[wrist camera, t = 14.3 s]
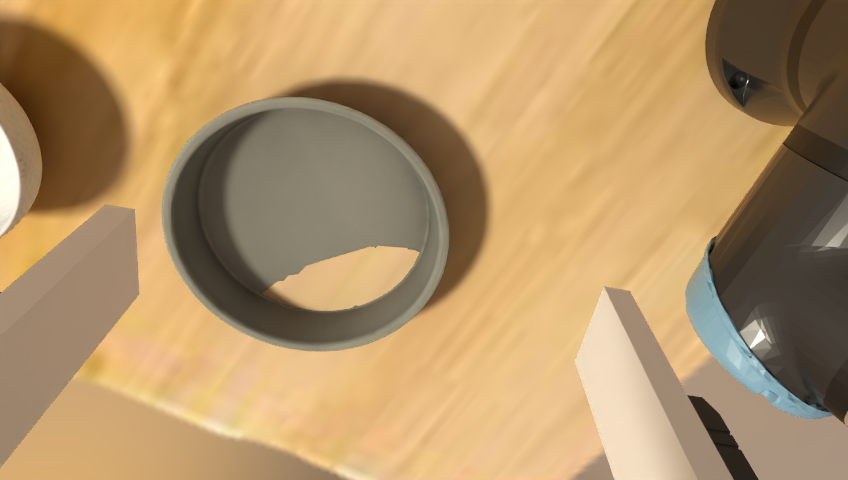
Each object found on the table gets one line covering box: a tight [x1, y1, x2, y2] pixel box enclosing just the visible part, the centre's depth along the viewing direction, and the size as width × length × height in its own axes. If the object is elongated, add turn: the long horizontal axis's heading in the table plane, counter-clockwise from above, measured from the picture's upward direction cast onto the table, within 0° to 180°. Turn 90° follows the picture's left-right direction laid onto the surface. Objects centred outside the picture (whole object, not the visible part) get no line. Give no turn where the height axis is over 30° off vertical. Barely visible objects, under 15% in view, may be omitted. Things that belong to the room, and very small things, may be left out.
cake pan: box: [162, 97, 449, 351], centre depth 52 cm, size 25×25×4 cm
